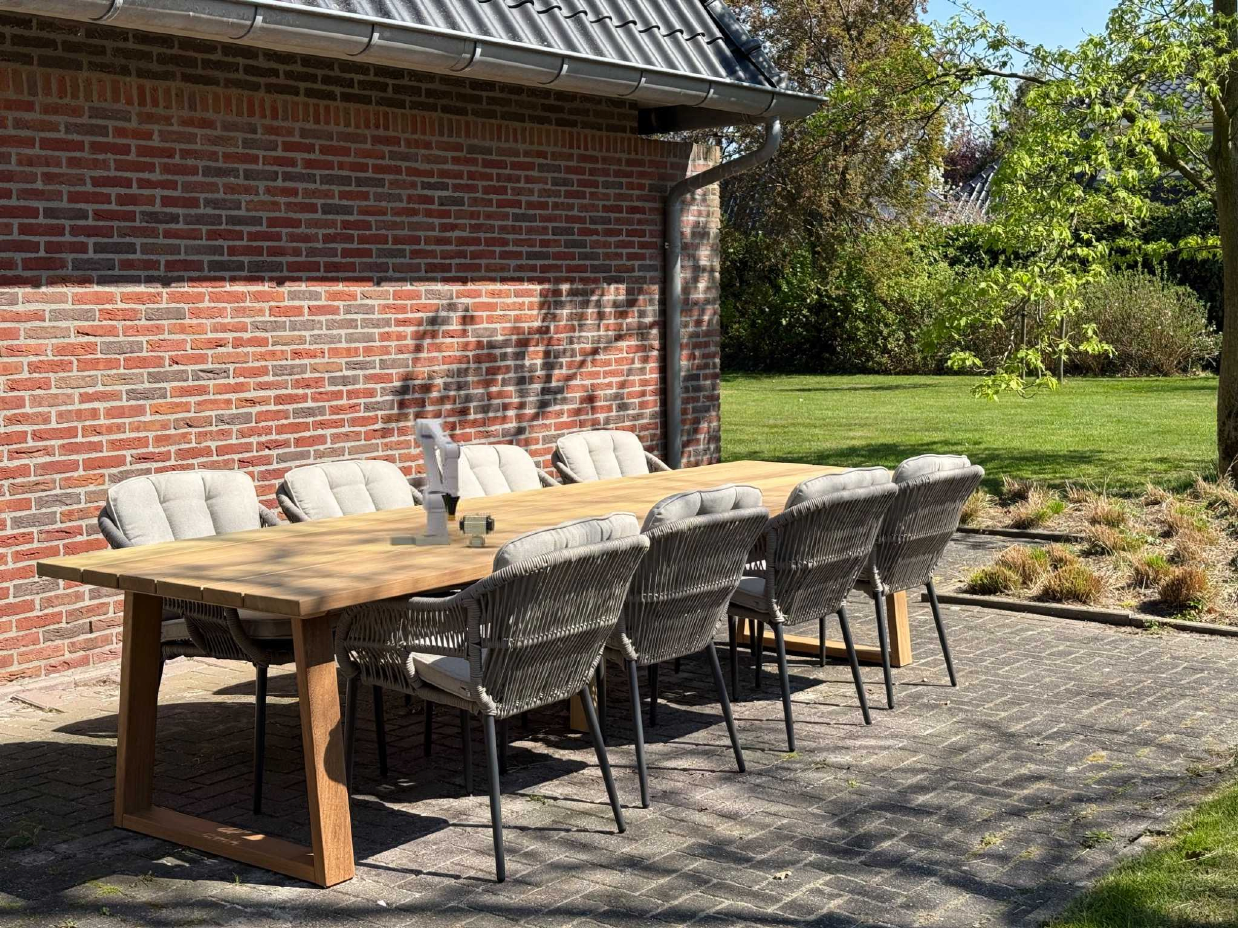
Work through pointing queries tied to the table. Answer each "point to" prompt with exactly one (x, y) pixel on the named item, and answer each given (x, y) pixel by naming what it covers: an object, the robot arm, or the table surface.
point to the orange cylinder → (450, 517)
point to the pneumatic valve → (476, 527)
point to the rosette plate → (421, 539)
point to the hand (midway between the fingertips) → (450, 514)
